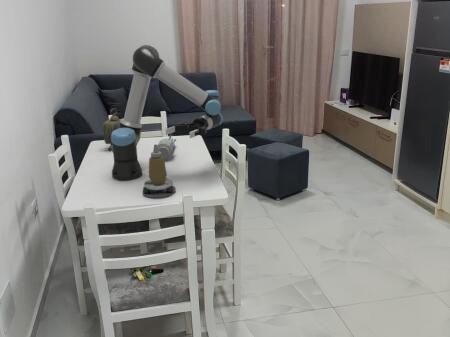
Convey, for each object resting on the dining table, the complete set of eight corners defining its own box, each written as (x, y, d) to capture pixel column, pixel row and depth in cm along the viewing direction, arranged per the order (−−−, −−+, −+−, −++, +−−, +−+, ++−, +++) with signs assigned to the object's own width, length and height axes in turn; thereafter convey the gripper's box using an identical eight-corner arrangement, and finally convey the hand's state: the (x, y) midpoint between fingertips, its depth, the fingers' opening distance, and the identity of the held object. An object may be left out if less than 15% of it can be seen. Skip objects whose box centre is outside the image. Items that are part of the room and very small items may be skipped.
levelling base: (140, 199, 191) (139, 189, 189) (145, 186, 205) (144, 177, 203) (174, 197, 191) (173, 188, 190) (177, 185, 205) (176, 176, 204)
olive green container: (117, 144, 275) (113, 105, 267) (130, 145, 272) (126, 106, 264) (105, 151, 262) (100, 110, 254) (118, 152, 259) (113, 111, 251)
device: (172, 161, 240) (171, 144, 237) (154, 161, 240) (153, 144, 237) (179, 146, 269) (178, 130, 266) (163, 146, 269) (162, 131, 266)
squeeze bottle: (154, 187, 191) (151, 148, 185) (146, 182, 197) (143, 144, 192) (170, 183, 196) (167, 145, 190) (162, 178, 202) (159, 141, 196)
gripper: (223, 134, 215) (200, 144, 198) (182, 128, 227) (157, 137, 209) (223, 119, 213) (200, 128, 195) (181, 114, 224) (156, 122, 207)
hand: (178, 133), depth 202 cm, fingers open, 13 cm apart
